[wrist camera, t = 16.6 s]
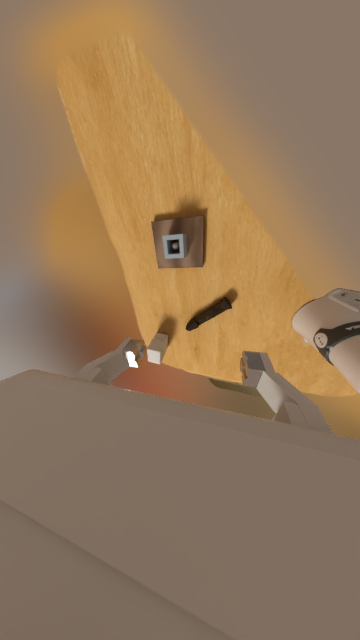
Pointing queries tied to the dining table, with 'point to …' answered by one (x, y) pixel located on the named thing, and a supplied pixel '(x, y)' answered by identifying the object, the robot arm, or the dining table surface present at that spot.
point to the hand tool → (209, 314)
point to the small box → (157, 348)
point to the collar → (168, 244)
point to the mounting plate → (173, 227)
